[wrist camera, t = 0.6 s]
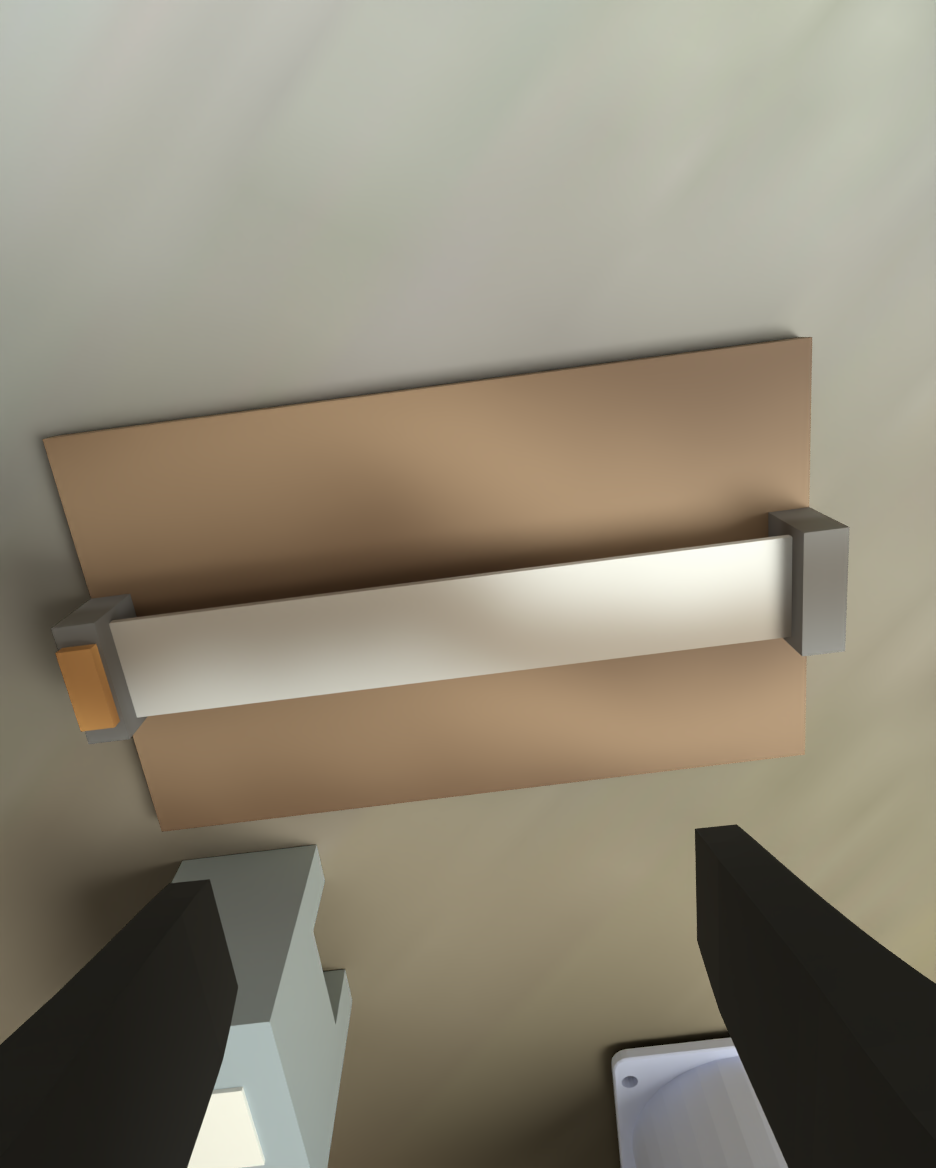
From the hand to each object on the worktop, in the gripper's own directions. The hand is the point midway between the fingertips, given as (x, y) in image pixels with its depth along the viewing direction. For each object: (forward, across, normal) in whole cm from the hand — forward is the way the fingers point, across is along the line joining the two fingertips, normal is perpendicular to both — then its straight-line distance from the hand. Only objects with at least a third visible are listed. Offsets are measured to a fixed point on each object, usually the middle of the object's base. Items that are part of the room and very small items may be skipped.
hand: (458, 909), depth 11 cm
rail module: (+10, +7, +9) cm, 15 cm away
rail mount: (+10, 0, -1) cm, 10 cm away
